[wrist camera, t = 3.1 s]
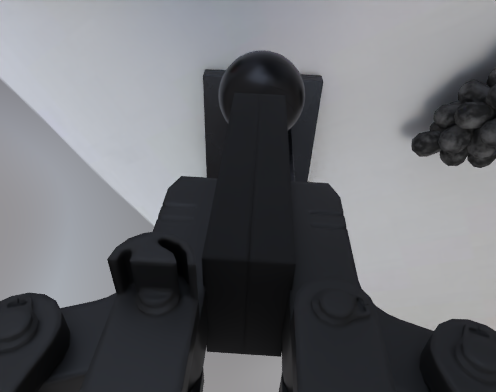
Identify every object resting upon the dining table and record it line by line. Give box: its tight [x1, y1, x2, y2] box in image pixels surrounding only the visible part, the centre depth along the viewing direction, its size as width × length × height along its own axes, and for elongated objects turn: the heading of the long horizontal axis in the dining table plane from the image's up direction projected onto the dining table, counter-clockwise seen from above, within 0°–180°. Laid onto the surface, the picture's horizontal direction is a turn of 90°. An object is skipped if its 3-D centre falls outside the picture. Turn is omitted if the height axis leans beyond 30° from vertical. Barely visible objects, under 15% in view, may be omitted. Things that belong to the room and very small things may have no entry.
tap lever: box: [219, 51, 305, 130], centre depth 20 cm, size 15×3×3 cm, turn 178°
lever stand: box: [203, 70, 323, 182], centre depth 29 cm, size 12×9×13 cm
